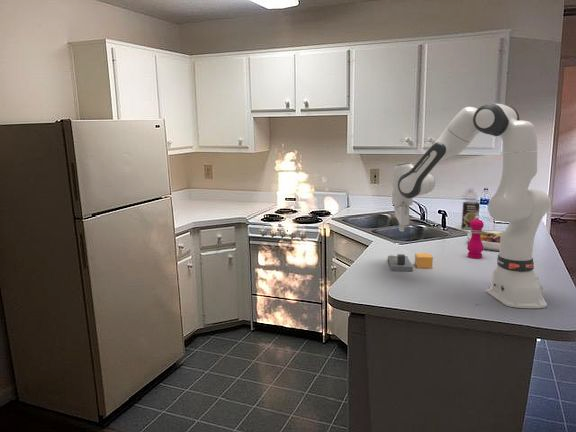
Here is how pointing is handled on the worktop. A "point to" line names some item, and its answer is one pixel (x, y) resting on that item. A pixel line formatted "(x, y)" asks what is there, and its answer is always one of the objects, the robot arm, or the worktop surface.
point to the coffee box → (469, 214)
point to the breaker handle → (400, 258)
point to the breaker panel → (399, 267)
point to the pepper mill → (475, 239)
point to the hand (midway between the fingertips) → (401, 230)
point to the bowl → (489, 239)
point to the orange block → (423, 260)
